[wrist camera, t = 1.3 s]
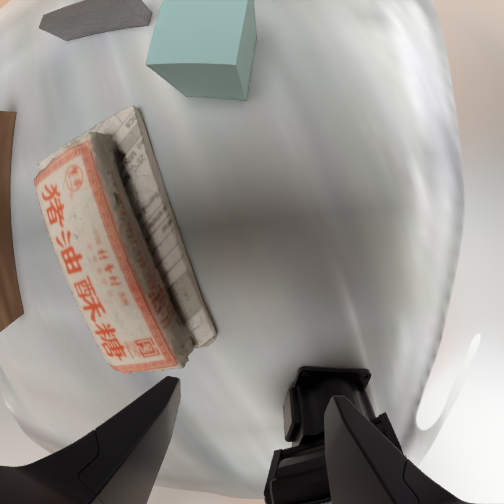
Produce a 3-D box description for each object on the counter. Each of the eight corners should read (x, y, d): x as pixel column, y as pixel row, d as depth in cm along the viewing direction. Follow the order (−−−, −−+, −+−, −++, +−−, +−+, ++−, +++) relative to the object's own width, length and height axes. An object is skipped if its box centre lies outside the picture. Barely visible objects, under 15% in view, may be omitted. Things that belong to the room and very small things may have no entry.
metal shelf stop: (152, 12, 14) (131, -11, 11) (148, 25, 15) (126, 2, 11) (70, 29, 14) (43, 15, 11) (66, 41, 15) (38, 27, 11)
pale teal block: (256, 36, 15) (252, -20, 8) (246, 100, 17) (235, 64, 10) (198, 33, 15) (169, -18, 8) (186, 96, 17) (145, 64, 10)
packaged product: (213, 373, 17) (99, 385, 19) (222, 334, 22) (121, 352, 23) (110, 93, 13) (6, 166, 14) (143, 106, 17) (46, 162, 18)
